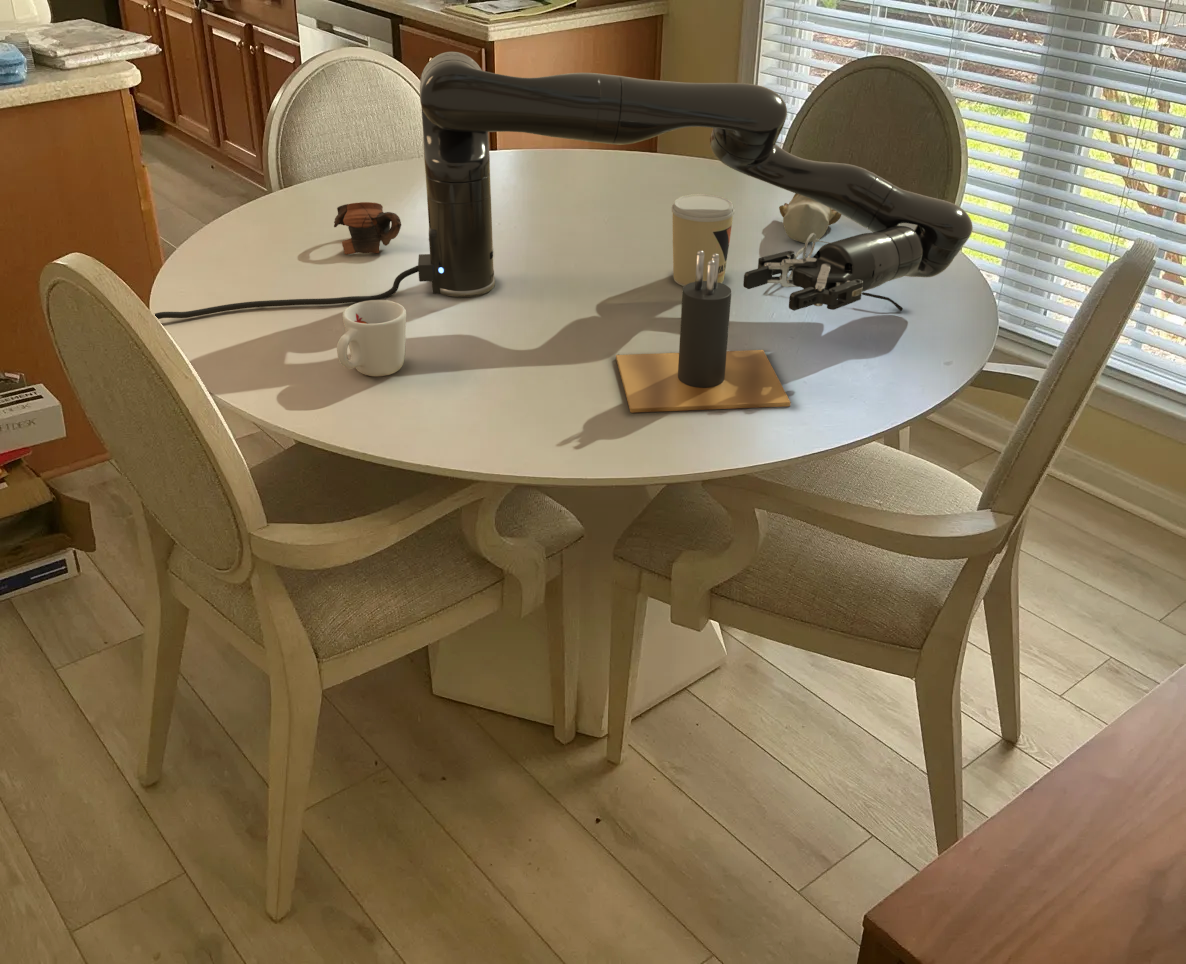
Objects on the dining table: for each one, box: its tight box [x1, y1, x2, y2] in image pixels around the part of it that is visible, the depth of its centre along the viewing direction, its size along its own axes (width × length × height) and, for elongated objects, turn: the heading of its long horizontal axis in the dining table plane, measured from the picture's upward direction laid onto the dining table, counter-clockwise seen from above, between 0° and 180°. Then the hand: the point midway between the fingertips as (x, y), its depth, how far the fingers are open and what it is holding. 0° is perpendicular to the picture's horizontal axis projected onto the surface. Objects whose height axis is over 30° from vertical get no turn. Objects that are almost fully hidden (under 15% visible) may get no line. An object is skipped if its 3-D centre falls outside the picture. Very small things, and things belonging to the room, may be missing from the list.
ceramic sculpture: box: [778, 193, 843, 244], centre depth 194 cm, size 11×9×15 cm
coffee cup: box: [671, 193, 736, 287], centre depth 175 cm, size 9×9×12 cm
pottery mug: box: [333, 201, 402, 255], centre depth 187 cm, size 12×10×8 cm
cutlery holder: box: [678, 250, 732, 388], centre depth 144 cm, size 6×6×17 cm
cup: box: [336, 299, 407, 377], centre depth 148 cm, size 11×8×8 cm
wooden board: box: [615, 349, 792, 414], centre depth 149 cm, size 20×15×1 cm
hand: (767, 291), depth 148 cm, fingers open, 8 cm apart
